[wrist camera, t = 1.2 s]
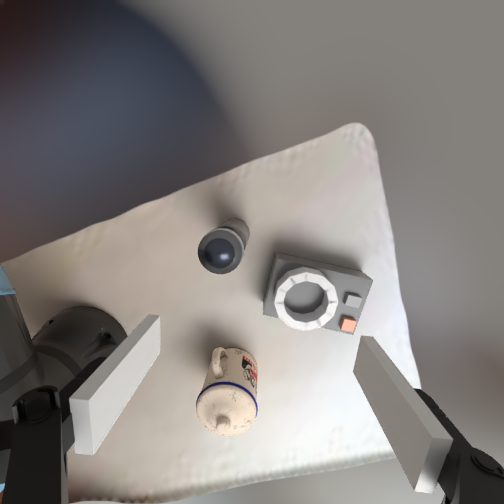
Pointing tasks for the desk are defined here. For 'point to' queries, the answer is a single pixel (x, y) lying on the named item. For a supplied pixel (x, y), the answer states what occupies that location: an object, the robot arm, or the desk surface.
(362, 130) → the desk surface
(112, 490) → the desk surface
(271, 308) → the camera body
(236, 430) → the teacup with lid
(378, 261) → the desk surface
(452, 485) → the robot arm
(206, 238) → the grey flashlight
